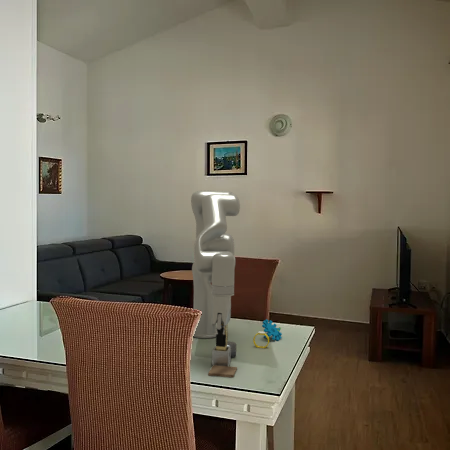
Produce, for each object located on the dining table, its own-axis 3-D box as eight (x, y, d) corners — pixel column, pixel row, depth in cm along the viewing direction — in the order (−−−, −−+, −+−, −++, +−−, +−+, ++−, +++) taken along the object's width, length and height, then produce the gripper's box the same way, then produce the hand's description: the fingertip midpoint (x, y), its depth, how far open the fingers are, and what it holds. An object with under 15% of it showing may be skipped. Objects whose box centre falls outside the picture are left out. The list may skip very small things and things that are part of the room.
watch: (268, 347, 187) (270, 332, 186) (267, 349, 184) (269, 334, 184) (253, 345, 188) (254, 330, 188) (252, 347, 185) (253, 332, 185)
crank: (218, 351, 178) (218, 337, 178) (237, 352, 177) (237, 339, 177) (209, 365, 162) (209, 350, 162) (230, 366, 161) (230, 351, 161)
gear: (272, 339, 191) (260, 318, 197) (262, 348, 194) (251, 327, 199) (288, 338, 199) (276, 318, 205) (279, 346, 202) (267, 326, 207)
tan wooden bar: (216, 357, 163) (216, 322, 162) (217, 355, 166) (218, 319, 165) (225, 358, 162) (226, 322, 162) (227, 355, 165) (227, 320, 165)
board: (208, 375, 153) (208, 373, 153) (213, 367, 161) (213, 365, 160) (233, 377, 151) (233, 375, 151) (237, 369, 159) (237, 367, 159)
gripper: (216, 286, 172) (215, 338, 173) (206, 293, 156) (205, 350, 156) (237, 287, 171) (236, 339, 171) (229, 294, 155) (228, 352, 155)
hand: (221, 344), depth 164 cm, fingers closed on tan wooden bar, 3 cm apart
